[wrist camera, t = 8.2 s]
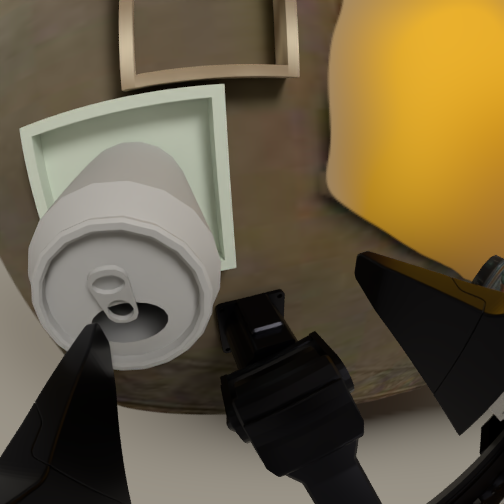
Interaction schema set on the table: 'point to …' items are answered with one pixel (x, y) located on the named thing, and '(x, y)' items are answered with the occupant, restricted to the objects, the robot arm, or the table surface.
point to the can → (126, 258)
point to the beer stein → (491, 274)
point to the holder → (283, 69)
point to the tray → (147, 131)
